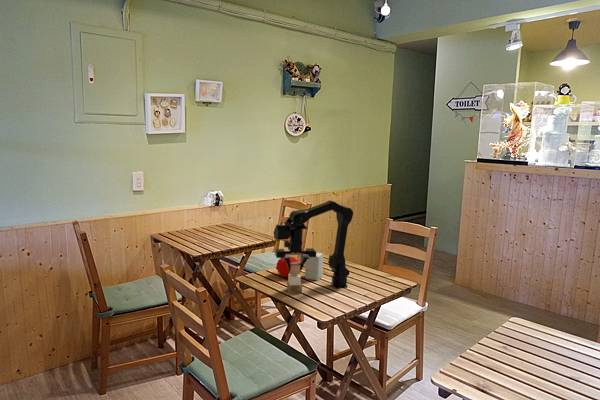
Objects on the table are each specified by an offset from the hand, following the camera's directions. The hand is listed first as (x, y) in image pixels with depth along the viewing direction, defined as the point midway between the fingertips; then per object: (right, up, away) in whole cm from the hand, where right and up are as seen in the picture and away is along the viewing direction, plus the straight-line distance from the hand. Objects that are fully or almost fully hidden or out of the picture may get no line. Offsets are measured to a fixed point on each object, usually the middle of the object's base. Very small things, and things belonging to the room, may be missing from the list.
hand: (294, 270), depth 196 cm
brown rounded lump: (0, -1, 0) cm, 1 cm away
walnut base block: (0, -10, +1) cm, 10 cm away
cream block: (0, -6, +1) cm, 6 cm away
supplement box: (+9, -7, +22) cm, 25 cm away
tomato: (-4, -7, +23) cm, 24 cm away
